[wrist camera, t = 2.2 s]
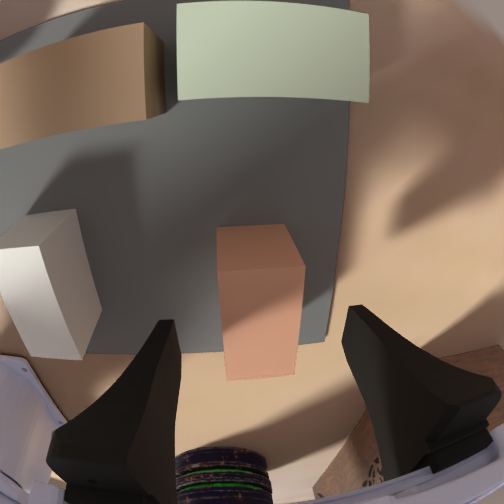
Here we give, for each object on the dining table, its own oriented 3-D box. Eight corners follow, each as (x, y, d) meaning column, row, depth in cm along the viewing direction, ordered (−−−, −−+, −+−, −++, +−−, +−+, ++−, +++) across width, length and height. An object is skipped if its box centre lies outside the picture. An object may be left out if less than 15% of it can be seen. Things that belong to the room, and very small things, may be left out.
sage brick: (329, 32, 11) (368, 14, 8) (328, 99, 13) (369, 103, 9) (187, 29, 11) (176, 3, 7) (189, 99, 12) (178, 100, 9)
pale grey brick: (102, 309, 16) (82, 360, 13) (56, 309, 16) (31, 356, 13) (75, 208, 14) (38, 245, 10) (25, 215, 13) (-16, 250, 10)
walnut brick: (164, 42, 11) (143, 22, 7) (166, 113, 12) (146, 119, 9) (40, 69, 10) (-10, 67, 7) (44, 133, 12) (-4, 150, 8)
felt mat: (323, 338, 19) (324, 341, 19) (31, 346, 18) (29, 349, 17) (346, 1, 11) (348, -1, 10) (-38, 62, 9) (-41, 62, 9)
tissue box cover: (390, 363, 22) (443, 467, 13) (497, 343, 24) (547, 409, 15) (312, 486, 34) (326, 546, 25) (400, 465, 36) (420, 517, 27)
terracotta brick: (280, 322, 18) (294, 374, 14) (223, 326, 18) (226, 380, 14) (284, 223, 15) (305, 266, 12) (216, 227, 15) (217, 272, 11)
